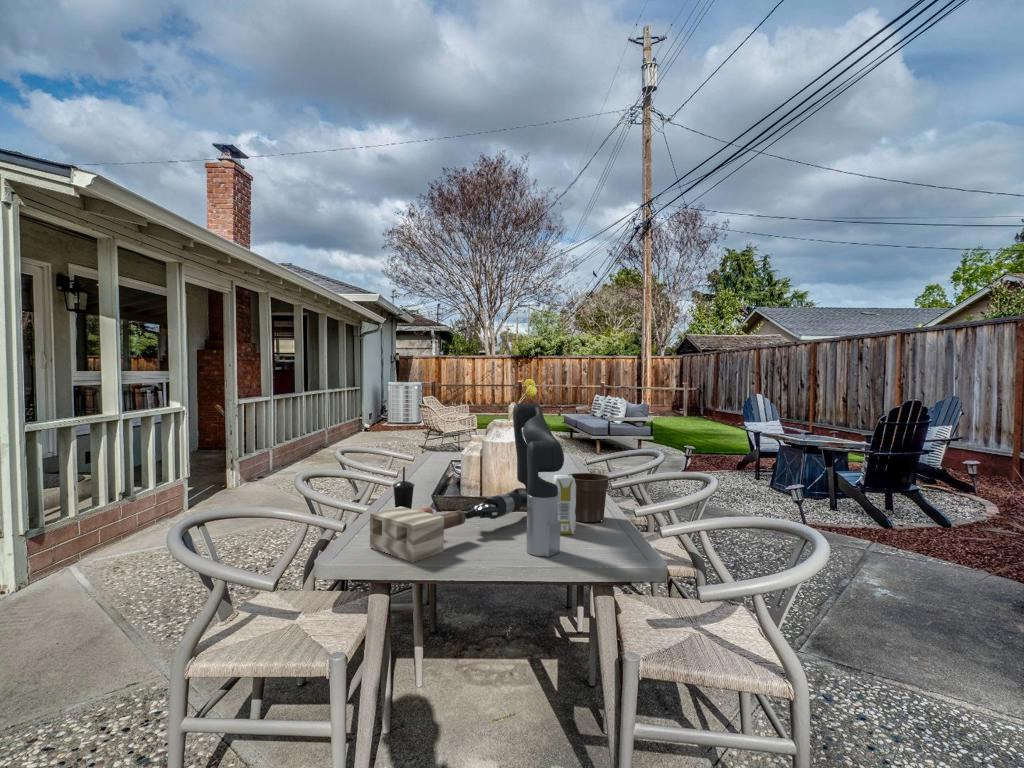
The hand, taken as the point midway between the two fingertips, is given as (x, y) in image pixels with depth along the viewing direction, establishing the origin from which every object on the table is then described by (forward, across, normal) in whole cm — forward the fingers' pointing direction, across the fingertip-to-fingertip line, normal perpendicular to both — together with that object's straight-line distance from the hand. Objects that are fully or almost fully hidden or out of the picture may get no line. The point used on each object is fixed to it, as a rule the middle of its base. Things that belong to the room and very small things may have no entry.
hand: (465, 515), depth 168 cm
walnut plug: (+11, 0, +2) cm, 11 cm away
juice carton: (-26, +21, +7) cm, 35 cm away
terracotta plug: (+14, -11, +2) cm, 18 cm away
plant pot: (-46, +19, +7) cm, 51 cm away
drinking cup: (+2, -28, +7) cm, 29 cm away
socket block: (+21, -5, +7) cm, 23 cm away
